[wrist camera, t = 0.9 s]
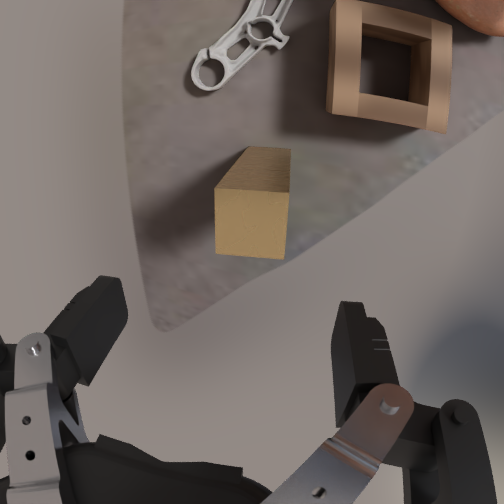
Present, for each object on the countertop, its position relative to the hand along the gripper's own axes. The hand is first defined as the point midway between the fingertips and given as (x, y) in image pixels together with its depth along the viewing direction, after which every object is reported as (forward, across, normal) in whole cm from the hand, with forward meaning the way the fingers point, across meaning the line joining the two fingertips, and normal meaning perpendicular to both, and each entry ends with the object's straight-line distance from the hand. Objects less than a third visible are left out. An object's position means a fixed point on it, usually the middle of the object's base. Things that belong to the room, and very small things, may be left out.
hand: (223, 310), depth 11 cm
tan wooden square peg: (+22, 0, 0) cm, 22 cm away
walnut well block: (+22, -10, -11) cm, 26 cm away
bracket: (+22, +2, -14) cm, 26 cm away
